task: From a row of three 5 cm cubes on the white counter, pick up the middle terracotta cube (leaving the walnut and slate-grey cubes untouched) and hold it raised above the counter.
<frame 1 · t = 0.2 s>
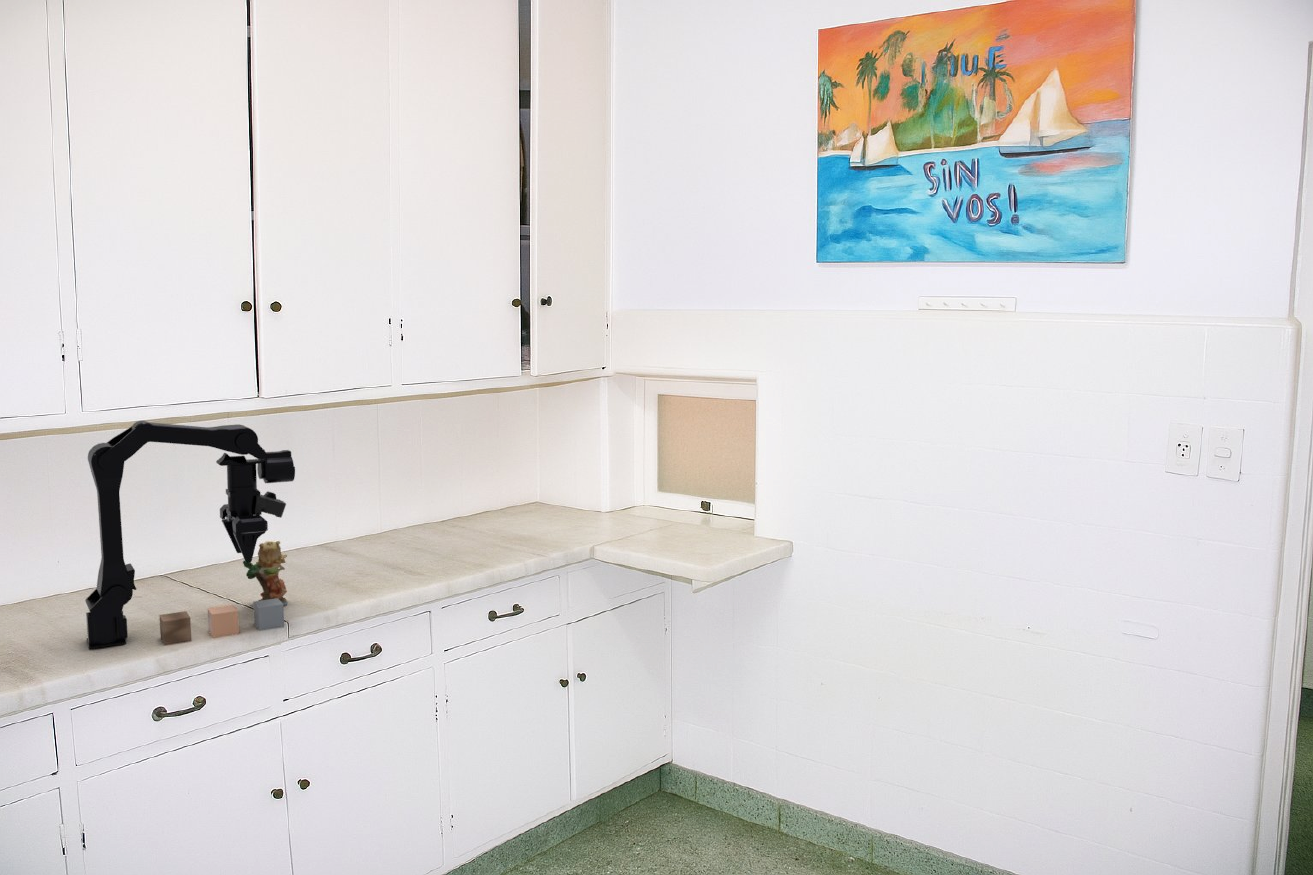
hand: (244, 557, 217), 14 cm above the countertop, fingers open, 9 cm apart
terracotta cube: (223, 632, 211), on the countertop
slate cube: (269, 625, 216), on the countertop
figurine: (267, 605, 230), on the countertop
walnut cube: (176, 640, 206), on the countertop
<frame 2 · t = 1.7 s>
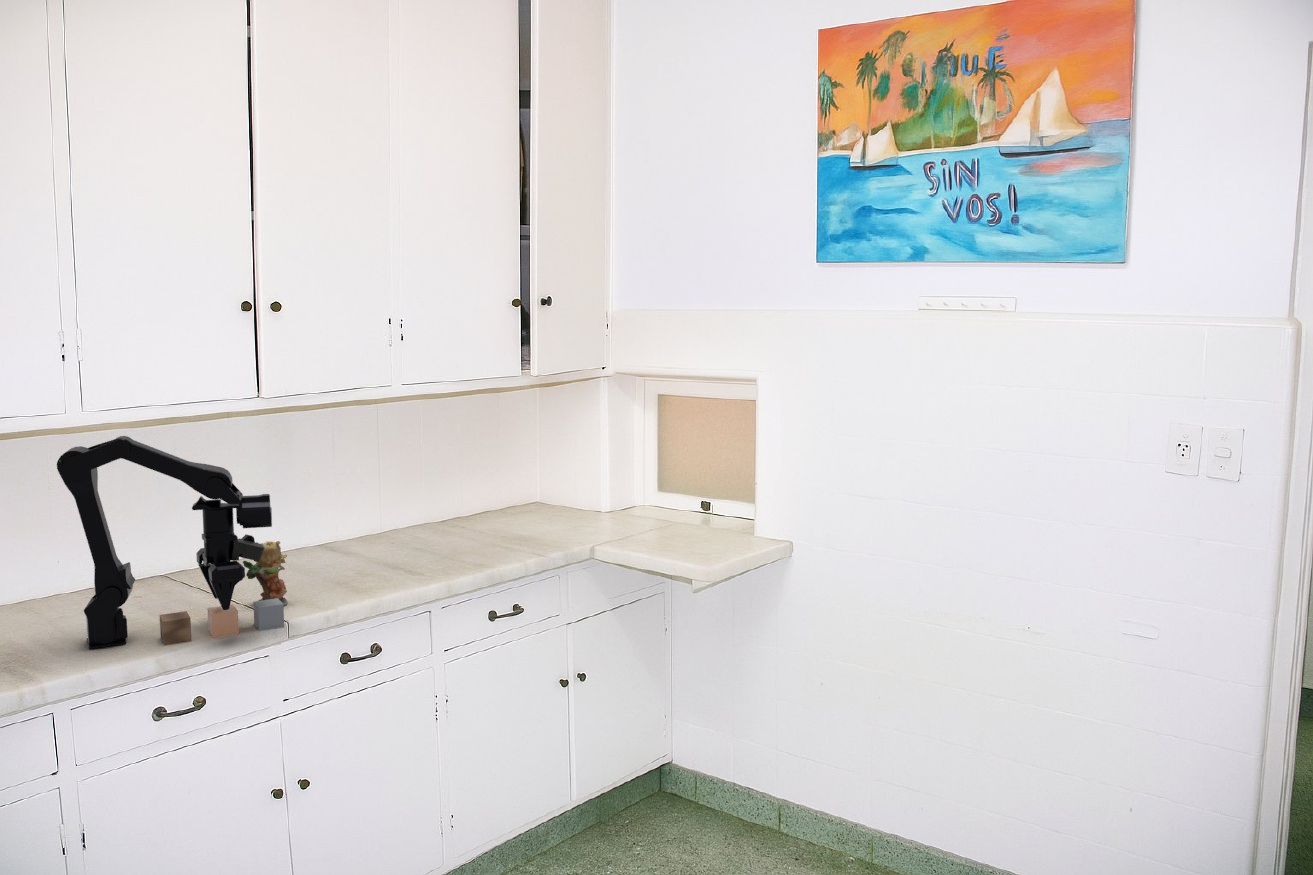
hand: (221, 603, 210), 6 cm above the countertop, fingers open, 9 cm apart
nothing on the countertop moved.
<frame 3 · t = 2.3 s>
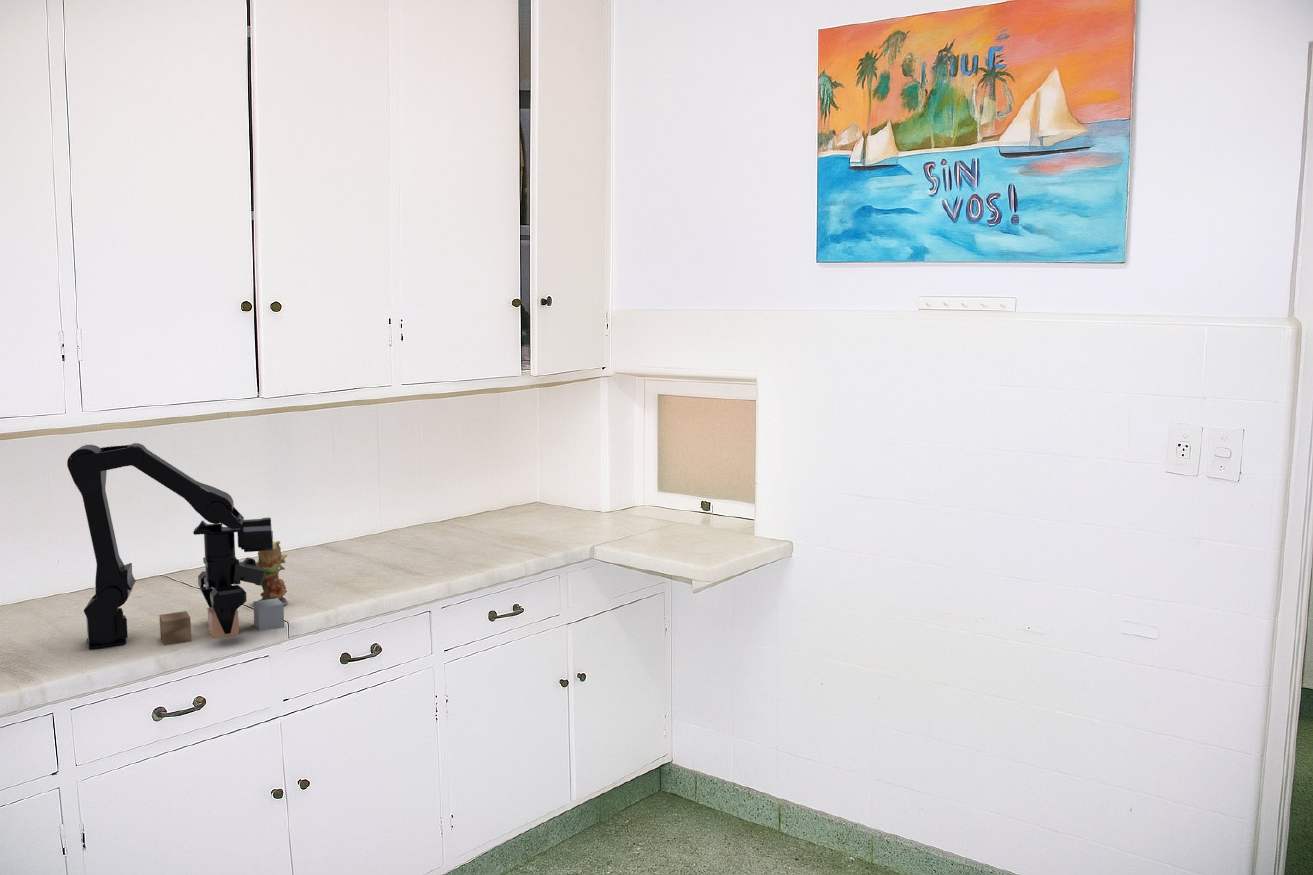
hand: (223, 627, 211), 1 cm above the countertop, fingers open, 9 cm apart
nothing on the countertop moved.
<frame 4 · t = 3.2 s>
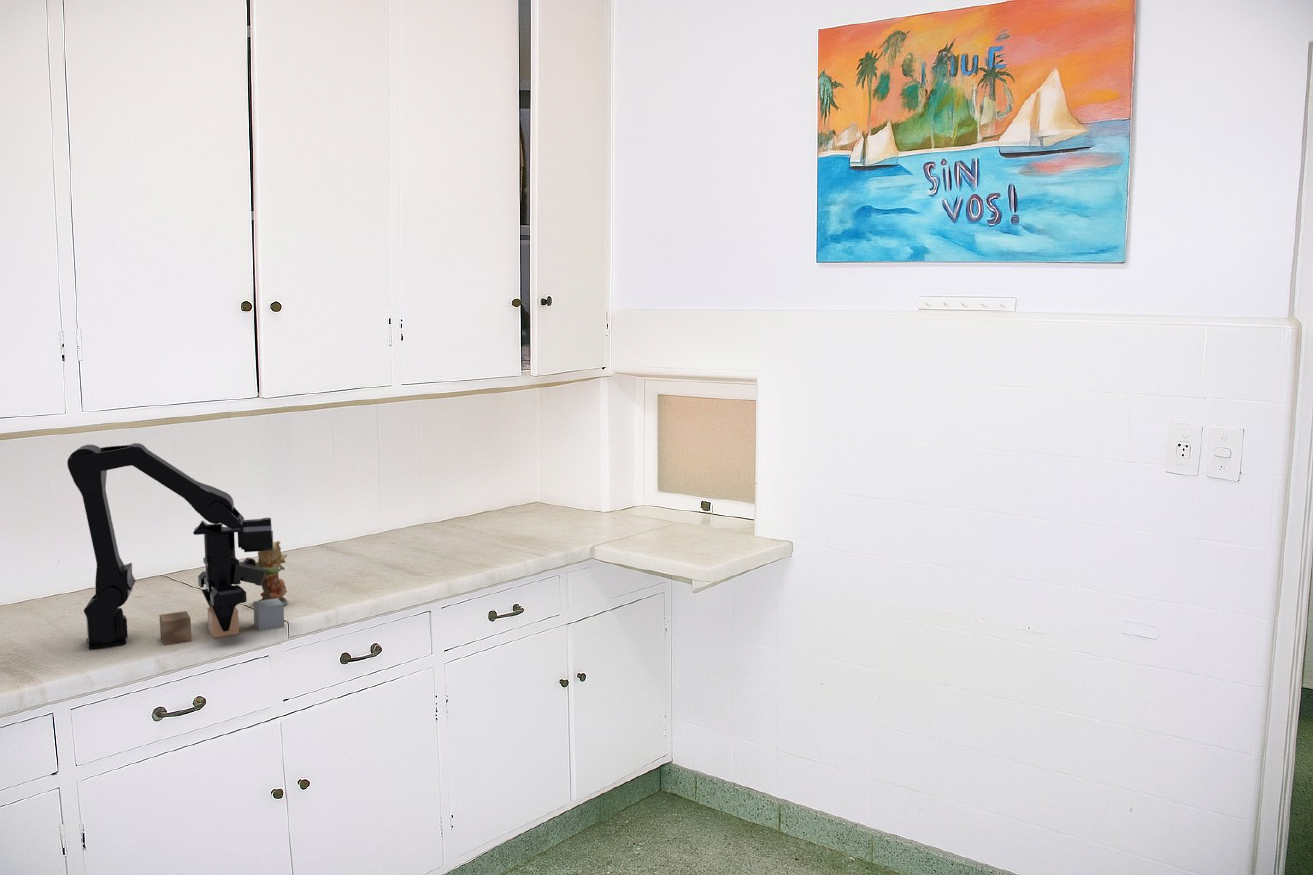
hand: (223, 627, 211), 1 cm above the countertop, fingers closed on terracotta cube, 5 cm apart
terracotta cube: (223, 632, 211), on the countertop, touching gripper
everything else where it was.
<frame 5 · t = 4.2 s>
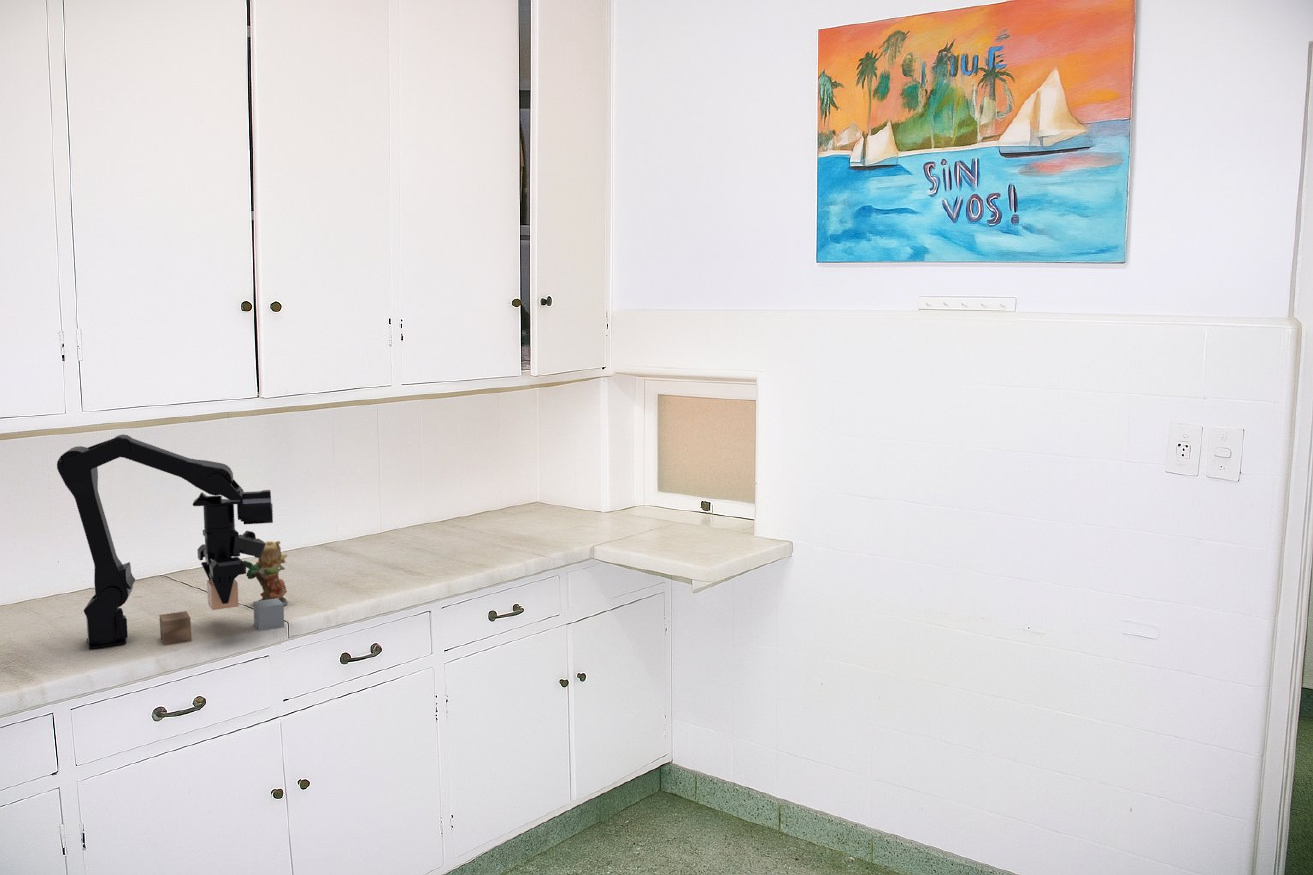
hand: (222, 600, 210), 7 cm above the countertop, fingers closed on terracotta cube, 5 cm apart
terracotta cube: (223, 605, 210), point 6 cm above the countertop, touching gripper
everything else where it was.
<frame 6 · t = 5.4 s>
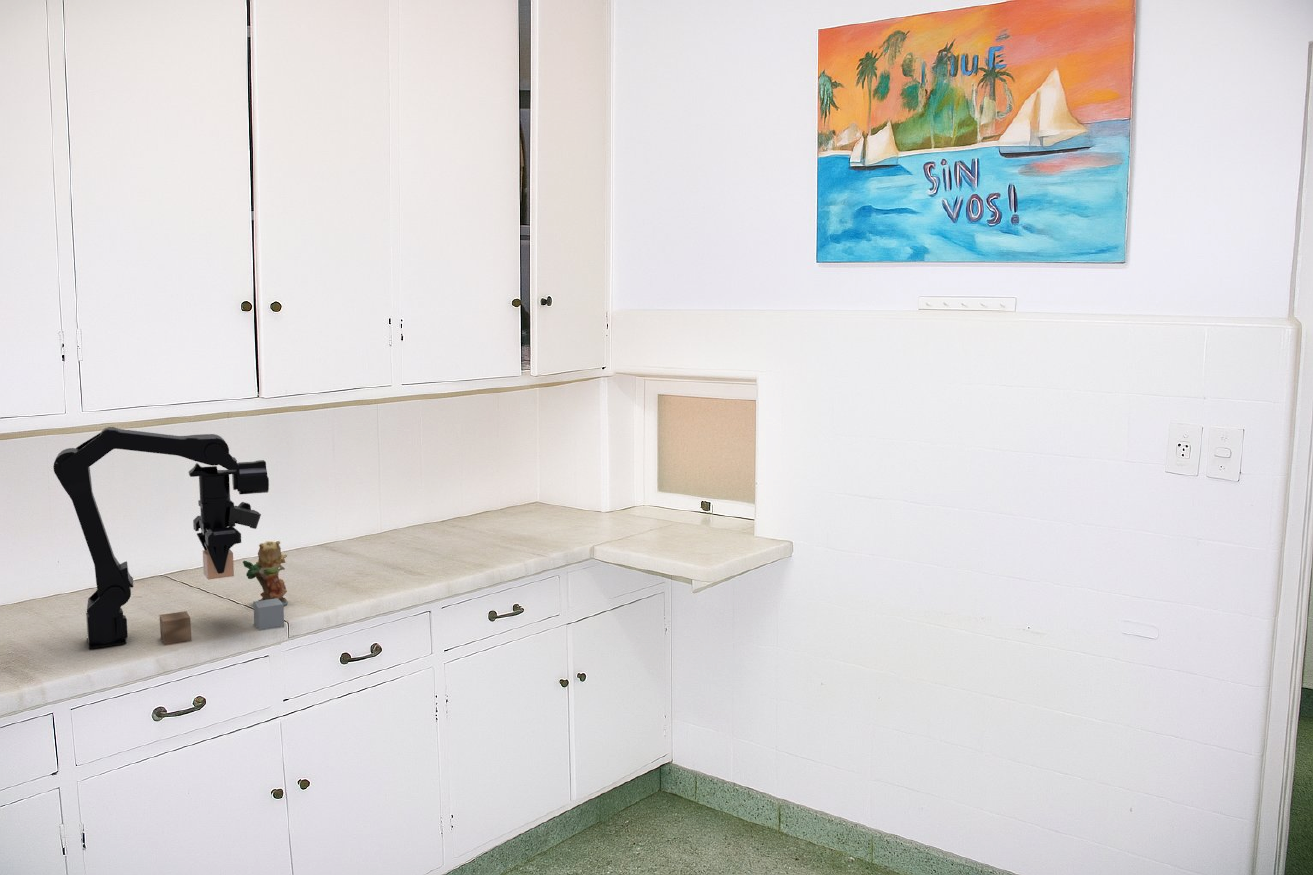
hand: (218, 570, 212), 12 cm above the countertop, fingers closed on terracotta cube, 5 cm apart
terracotta cube: (218, 575, 212), point 11 cm above the countertop, touching gripper
everything else where it was.
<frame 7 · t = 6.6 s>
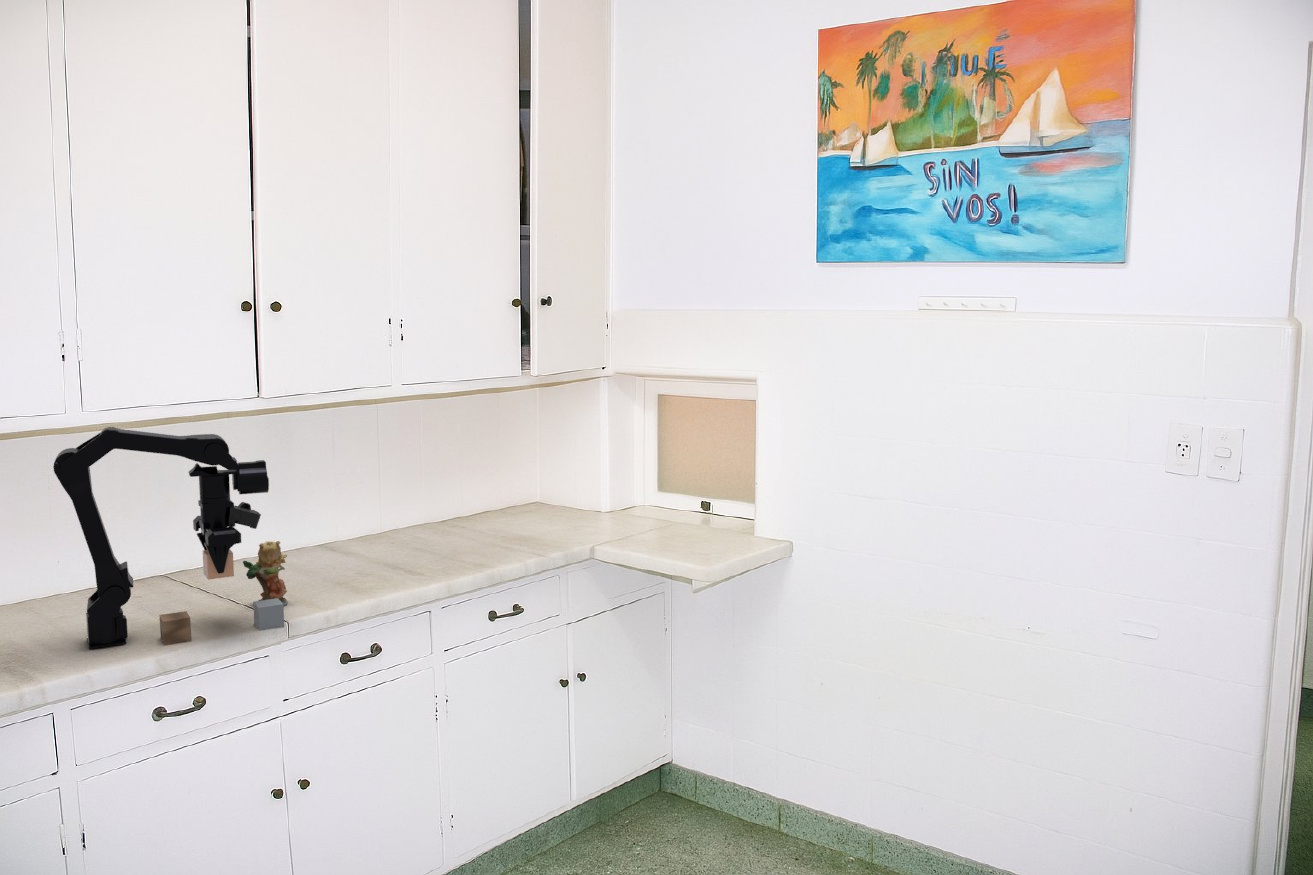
hand: (218, 570, 212), 12 cm above the countertop, fingers closed on terracotta cube, 5 cm apart
terracotta cube: (218, 575, 212), point 11 cm above the countertop, touching gripper
everything else where it was.
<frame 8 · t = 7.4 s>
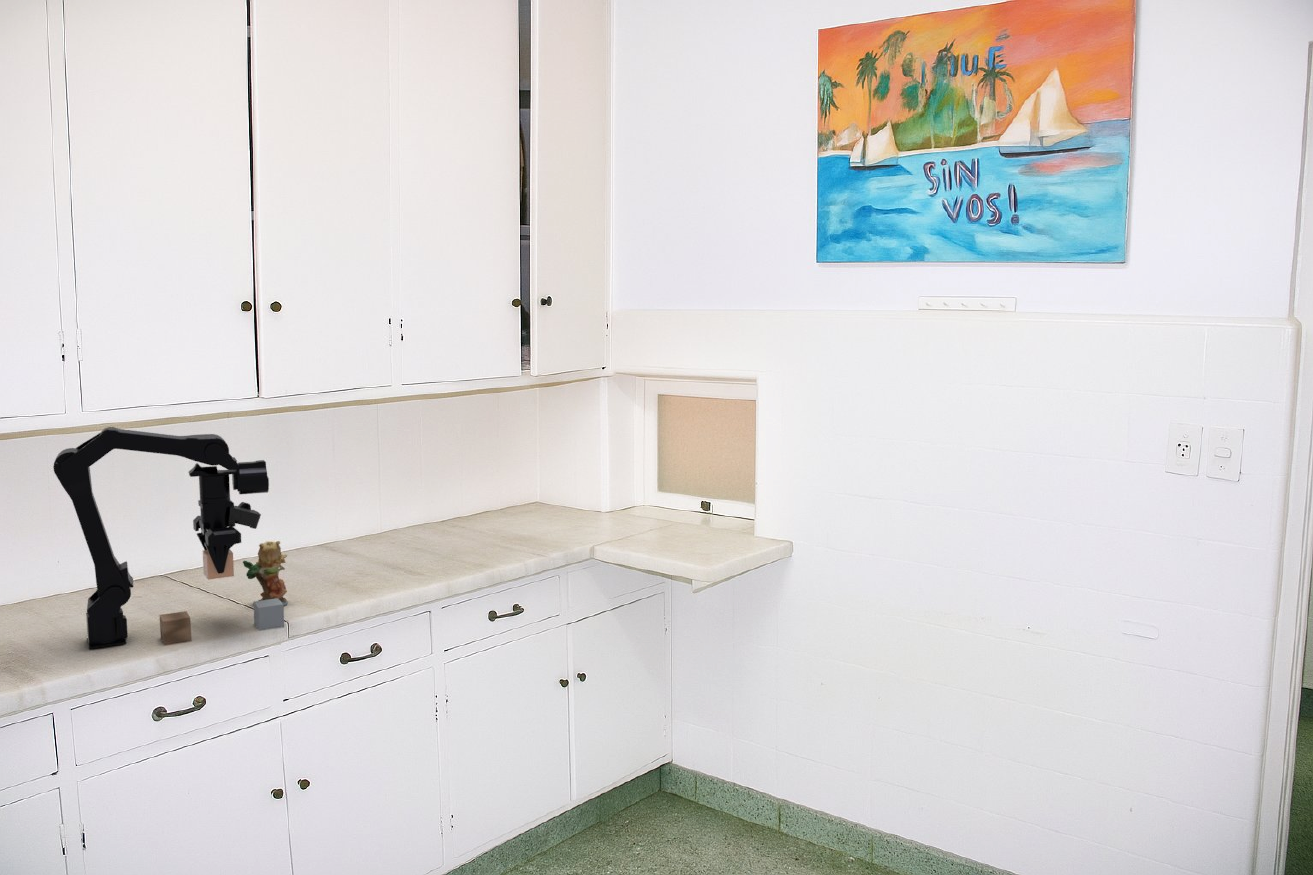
hand: (218, 570, 212), 12 cm above the countertop, fingers closed on terracotta cube, 5 cm apart
terracotta cube: (218, 575, 212), point 11 cm above the countertop, touching gripper
everything else where it was.
at the end: the gripper is holding terracotta cube; terracotta cube point 11.4 cm above the countertop; walnut cube moved 0.1 cm from its start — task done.
